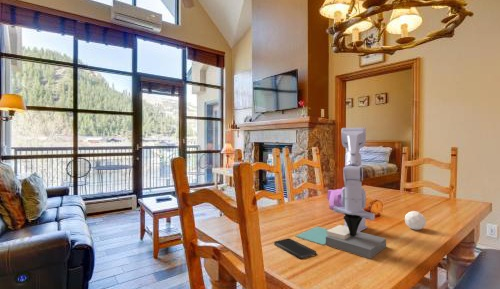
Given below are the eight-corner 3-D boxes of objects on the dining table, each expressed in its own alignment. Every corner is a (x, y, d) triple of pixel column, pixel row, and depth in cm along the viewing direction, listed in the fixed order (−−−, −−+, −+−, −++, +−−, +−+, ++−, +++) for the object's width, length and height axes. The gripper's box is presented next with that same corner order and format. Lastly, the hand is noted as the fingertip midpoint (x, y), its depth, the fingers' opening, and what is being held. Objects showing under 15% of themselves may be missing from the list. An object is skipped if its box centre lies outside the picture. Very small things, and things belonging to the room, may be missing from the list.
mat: (316, 227, 115) (316, 226, 115) (343, 234, 106) (343, 233, 106) (295, 236, 104) (295, 235, 104) (323, 245, 95) (323, 244, 95)
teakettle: (325, 205, 154) (325, 185, 153) (354, 205, 153) (354, 185, 153) (334, 213, 137) (334, 190, 136) (366, 213, 136) (366, 190, 136)
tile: (339, 228, 104) (339, 224, 104) (356, 232, 99) (356, 229, 99) (326, 234, 97) (326, 230, 97) (344, 239, 92) (344, 235, 92)
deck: (343, 235, 105) (343, 227, 105) (386, 246, 93) (386, 238, 93) (325, 244, 95) (325, 236, 95) (370, 259, 84) (370, 249, 84)
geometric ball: (409, 235, 112) (397, 218, 116) (422, 226, 115) (409, 210, 118) (421, 231, 106) (407, 214, 109) (434, 222, 108) (420, 205, 111)
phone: (300, 257, 84) (272, 242, 96) (300, 260, 84) (272, 245, 96) (318, 252, 88) (289, 237, 100) (318, 255, 88) (289, 240, 100)
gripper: (329, 197, 97) (329, 233, 97) (369, 203, 87) (369, 243, 87) (338, 194, 102) (338, 228, 102) (377, 200, 92) (377, 238, 92)
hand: (353, 235), depth 95 cm, fingers closed
